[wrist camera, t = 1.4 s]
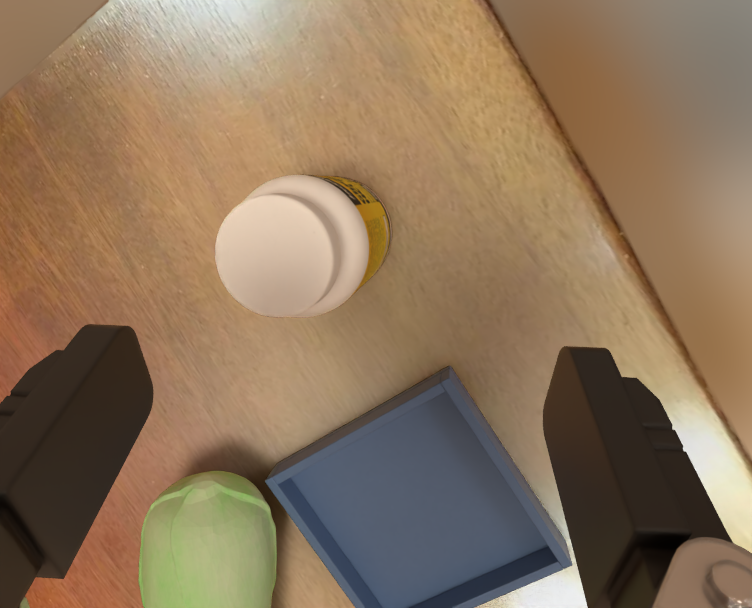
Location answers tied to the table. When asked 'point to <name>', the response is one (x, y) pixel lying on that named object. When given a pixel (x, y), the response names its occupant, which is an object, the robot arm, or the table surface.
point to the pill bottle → (302, 245)
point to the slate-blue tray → (420, 504)
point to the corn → (208, 545)
